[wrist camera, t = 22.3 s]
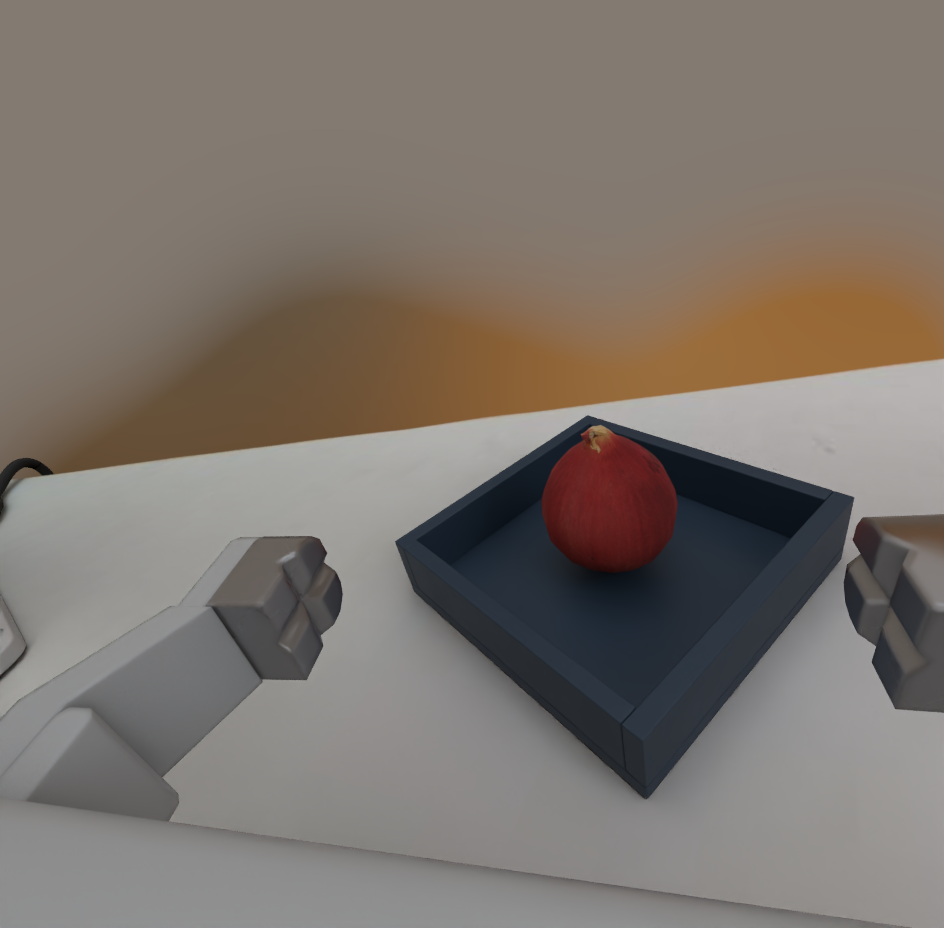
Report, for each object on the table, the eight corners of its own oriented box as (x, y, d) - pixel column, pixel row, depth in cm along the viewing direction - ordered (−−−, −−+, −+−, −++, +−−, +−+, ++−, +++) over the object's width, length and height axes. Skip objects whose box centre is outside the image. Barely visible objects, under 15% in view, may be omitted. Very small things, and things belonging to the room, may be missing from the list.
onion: (592, 515, 29) (577, 384, 25) (697, 548, 25) (700, 402, 21) (531, 583, 26) (501, 445, 22) (641, 633, 22) (631, 479, 18)
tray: (413, 591, 28) (394, 541, 26) (592, 462, 35) (587, 414, 33) (646, 800, 18) (642, 741, 16) (841, 559, 24) (854, 496, 22)
